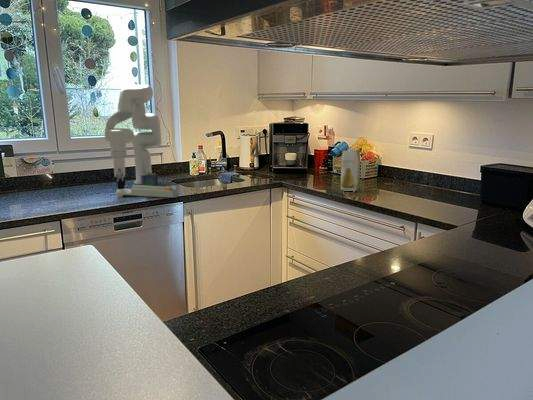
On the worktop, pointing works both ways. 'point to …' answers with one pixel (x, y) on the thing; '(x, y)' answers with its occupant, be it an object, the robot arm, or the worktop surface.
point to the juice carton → (350, 170)
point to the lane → (147, 191)
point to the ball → (168, 188)
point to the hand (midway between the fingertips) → (121, 187)
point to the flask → (149, 179)
